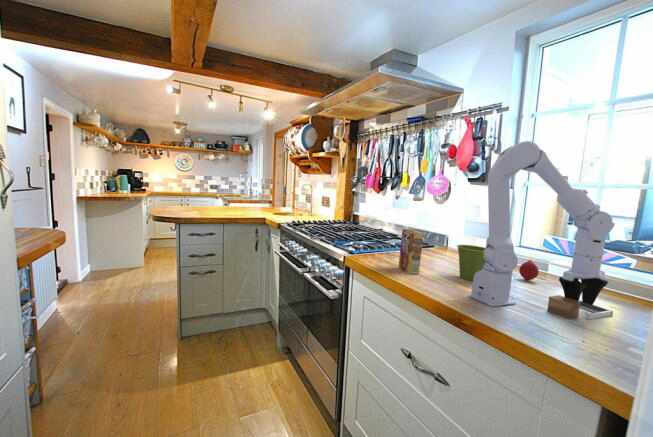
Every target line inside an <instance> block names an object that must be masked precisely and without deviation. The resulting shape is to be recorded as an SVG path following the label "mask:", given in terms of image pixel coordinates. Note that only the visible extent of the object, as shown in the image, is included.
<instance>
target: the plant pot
mask: <svg viewBox="0 0 653 437" xmlns="http://www.w3.org/2000/svg"><path fill="white" fill-rule="evenodd" d="M456 248H457V253H458V261H459V262H458V264H459V265H458V266H459V278H461V279H464V280H466V281H471V282H473V278H474V275H475V273H476V272H478V271H481V270H482V269H483V266H484V264H485V263H486V261H485V259H484V257H483V251H484V249H485V247H483V246H478V245H473V244H472V245H471V244H456Z"/></svg>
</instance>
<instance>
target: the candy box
mask: <svg viewBox="0 0 653 437" xmlns="http://www.w3.org/2000/svg"><path fill="white" fill-rule="evenodd" d="M424 234H425V233H424V232H422V231H418V230H415V229H412V228H402V231H401V239H400V249H399V257H398V265H397V267H398V269H399V270H401V271H404V272H405V273H407V274H409V275H419V274H420V267H421V261H422V260H421V259H422V251H423V241H424Z"/></svg>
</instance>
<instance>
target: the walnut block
mask: <svg viewBox="0 0 653 437" xmlns="http://www.w3.org/2000/svg"><path fill="white" fill-rule="evenodd" d="M547 303H548V304H547V310H546V311H547V312H549V313H552V314H555V315H557V316H558V317H561V318H564V319H566V320H569V319H570V320H571V319H577V318H579V316H580V302H578V301H575V300H572V299H569V298H567V297H565V295H564V296H563V295H559V294H558V295H551V296H548V302H547Z"/></svg>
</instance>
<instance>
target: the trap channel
mask: <svg viewBox="0 0 653 437" xmlns="http://www.w3.org/2000/svg"><path fill="white" fill-rule="evenodd" d="M579 302H580V308H579V310H580V309H581V310H583V311H587V312H588V313H586V314H585V319H586V320H594V319H599V318H606V317H612V316H613V313H614V311H613V310H610V309H608V308H604V307H601V306H598V305H595V304H593V305H589V304H586V303H583V302H582V300H580V299H579ZM589 312H590V313H589Z"/></svg>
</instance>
